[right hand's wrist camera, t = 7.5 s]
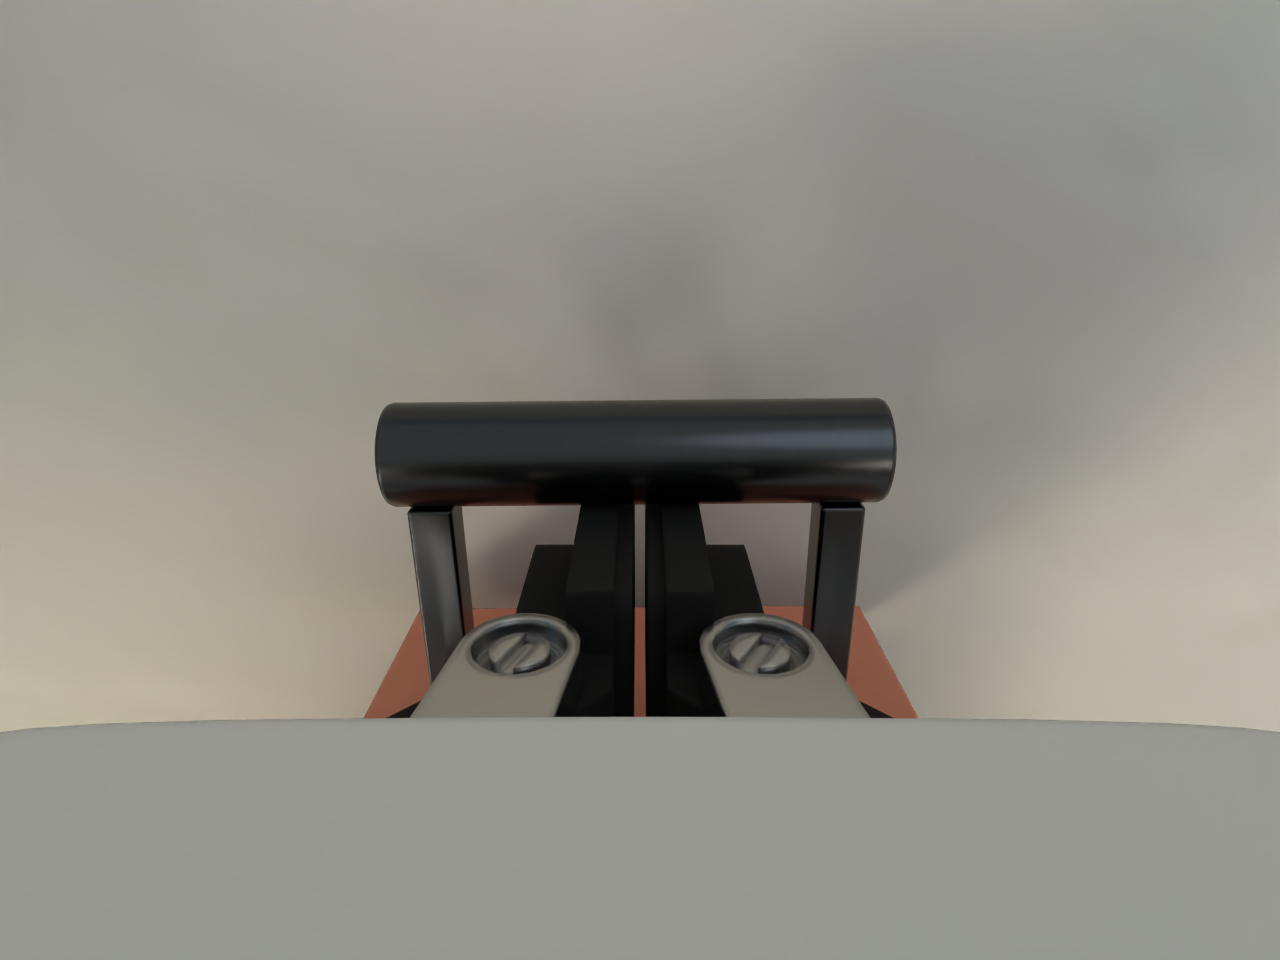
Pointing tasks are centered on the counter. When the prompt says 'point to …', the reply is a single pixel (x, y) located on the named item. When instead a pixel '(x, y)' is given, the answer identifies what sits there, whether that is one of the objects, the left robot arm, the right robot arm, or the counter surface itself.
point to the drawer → (637, 502)
